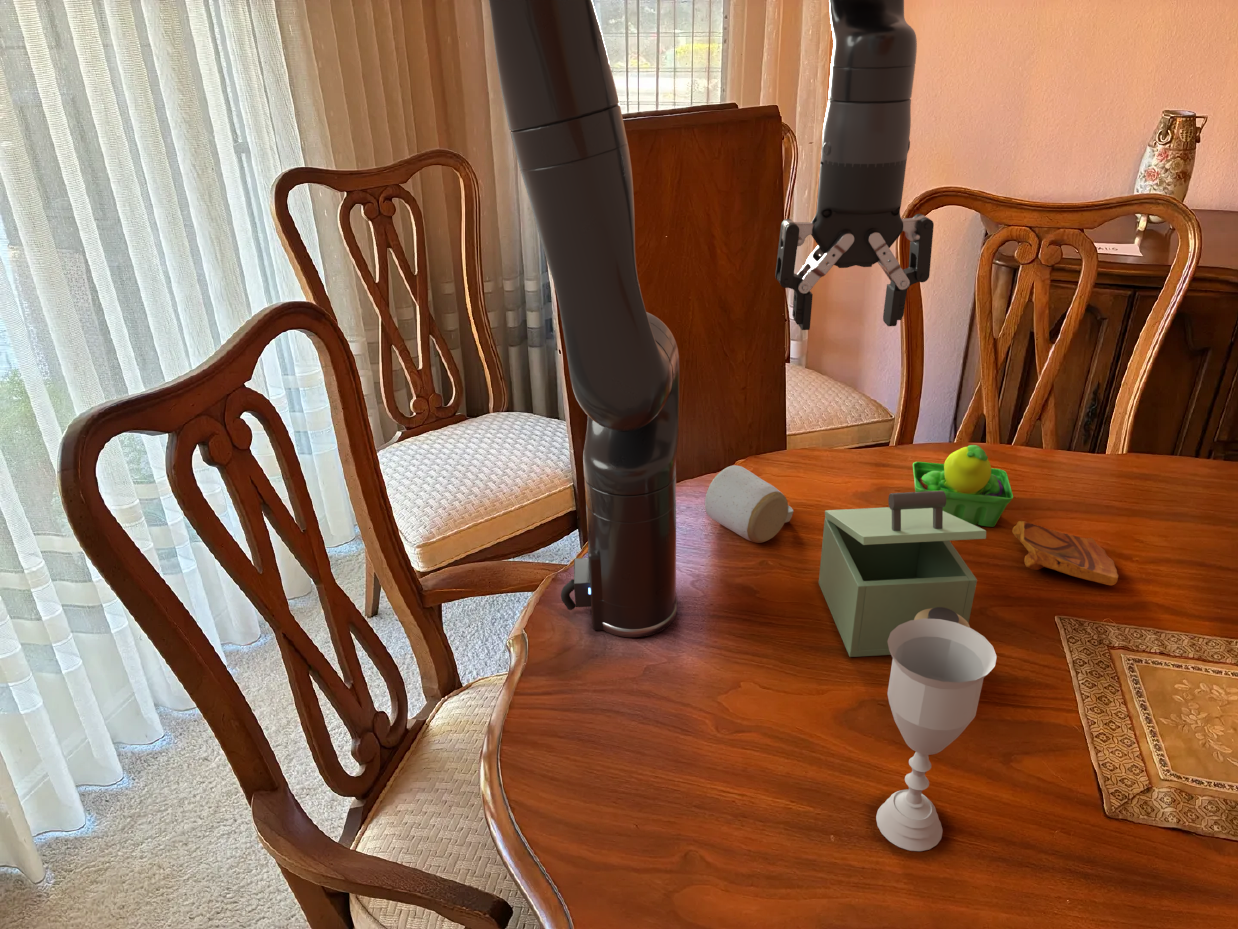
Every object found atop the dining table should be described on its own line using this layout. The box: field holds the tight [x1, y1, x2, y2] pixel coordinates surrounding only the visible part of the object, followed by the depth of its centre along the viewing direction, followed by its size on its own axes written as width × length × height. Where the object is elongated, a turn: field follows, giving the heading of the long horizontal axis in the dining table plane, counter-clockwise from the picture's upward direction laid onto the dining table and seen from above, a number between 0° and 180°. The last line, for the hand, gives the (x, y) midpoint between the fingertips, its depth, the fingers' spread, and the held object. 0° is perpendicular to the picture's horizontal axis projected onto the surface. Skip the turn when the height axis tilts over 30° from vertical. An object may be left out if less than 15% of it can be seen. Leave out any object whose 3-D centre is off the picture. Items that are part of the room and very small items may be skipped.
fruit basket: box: [912, 444, 1014, 528], centre depth 106 cm, size 11×9×11 cm
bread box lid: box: [824, 491, 987, 545], centre depth 86 cm, size 13×12×4 cm
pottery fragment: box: [1011, 520, 1119, 586], centre depth 98 cm, size 10×5×10 cm
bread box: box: [818, 517, 978, 658], centre depth 90 cm, size 13×12×9 cm
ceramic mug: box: [704, 464, 794, 544], centre depth 107 cm, size 11×8×8 cm
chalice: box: [875, 619, 998, 852], centre depth 64 cm, size 7×7×18 cm
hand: (846, 325), depth 85 cm, fingers open, 8 cm apart
